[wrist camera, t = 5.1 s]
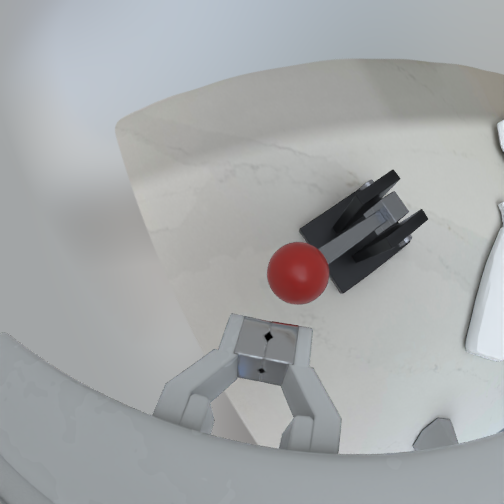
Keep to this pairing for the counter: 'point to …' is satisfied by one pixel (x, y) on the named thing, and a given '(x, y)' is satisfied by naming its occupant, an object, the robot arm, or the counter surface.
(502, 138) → the plate
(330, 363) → the counter surface
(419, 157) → the counter surface
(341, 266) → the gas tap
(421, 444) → the flask
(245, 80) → the counter surface
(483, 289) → the spray bottle
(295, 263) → the lever
